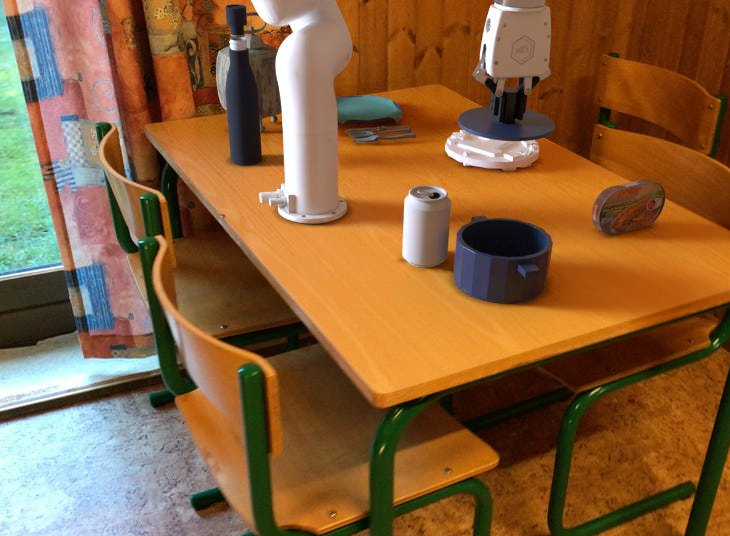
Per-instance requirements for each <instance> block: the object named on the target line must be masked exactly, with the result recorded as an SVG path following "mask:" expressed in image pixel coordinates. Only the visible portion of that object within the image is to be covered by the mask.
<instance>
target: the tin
mask: <svg viewBox="0 0 730 536" xmlns="http://www.w3.org/2000/svg"><path fill="white" fill-rule="evenodd" d="M665 204H666V192H665V188H664V187H663V185H662V184H660V183H659V182H656V181H652V180H649V179H640V180H635V181H631V182H627V183H622V184H617V185H612V186H609V187H607V188H605V189H604V190H602V191H601V192H600V193H599V194H598V195H597V197H596V198H595V200H594V202H593V205H592V210H591V222H592V225H593V226H594V227H595V228H596V229H597V230H599V231H600V232H602V233H603V234H605V235H607V236H616V235H619V234H623V233H626V232H631V231H635V230H639V229H640V230H641V229H643V228H647V227H649V226H651V225H652V224H653V223H655V222H656V221H657V220H658V218H659V217H660V215H661V214H662V212H663V209H664V207H665Z"/></svg>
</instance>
